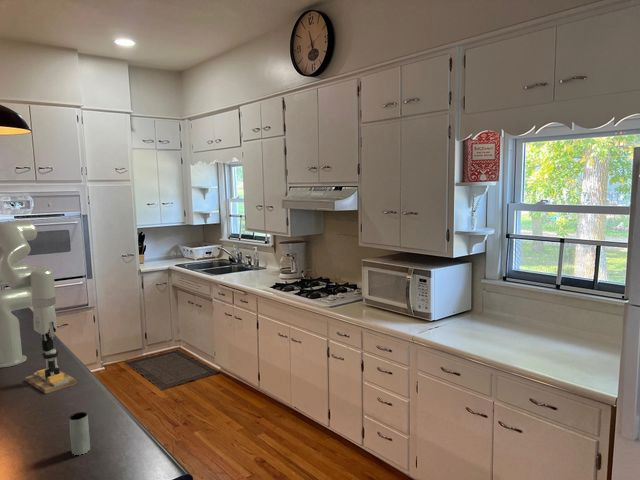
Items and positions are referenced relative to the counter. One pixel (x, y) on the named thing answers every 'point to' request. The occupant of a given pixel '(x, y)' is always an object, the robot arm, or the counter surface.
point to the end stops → (51, 378)
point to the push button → (51, 363)
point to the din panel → (46, 386)
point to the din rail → (54, 383)
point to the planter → (79, 433)
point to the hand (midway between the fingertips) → (48, 349)
